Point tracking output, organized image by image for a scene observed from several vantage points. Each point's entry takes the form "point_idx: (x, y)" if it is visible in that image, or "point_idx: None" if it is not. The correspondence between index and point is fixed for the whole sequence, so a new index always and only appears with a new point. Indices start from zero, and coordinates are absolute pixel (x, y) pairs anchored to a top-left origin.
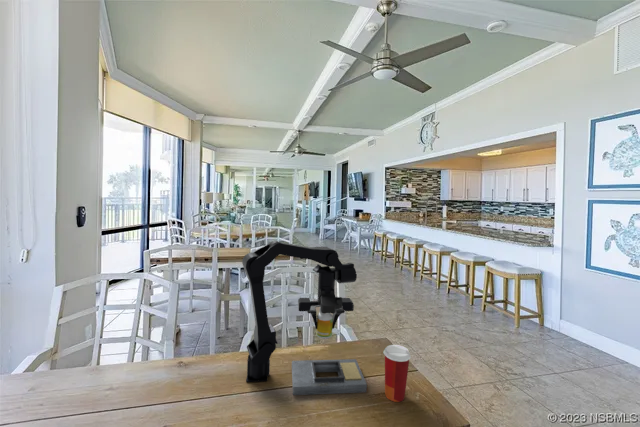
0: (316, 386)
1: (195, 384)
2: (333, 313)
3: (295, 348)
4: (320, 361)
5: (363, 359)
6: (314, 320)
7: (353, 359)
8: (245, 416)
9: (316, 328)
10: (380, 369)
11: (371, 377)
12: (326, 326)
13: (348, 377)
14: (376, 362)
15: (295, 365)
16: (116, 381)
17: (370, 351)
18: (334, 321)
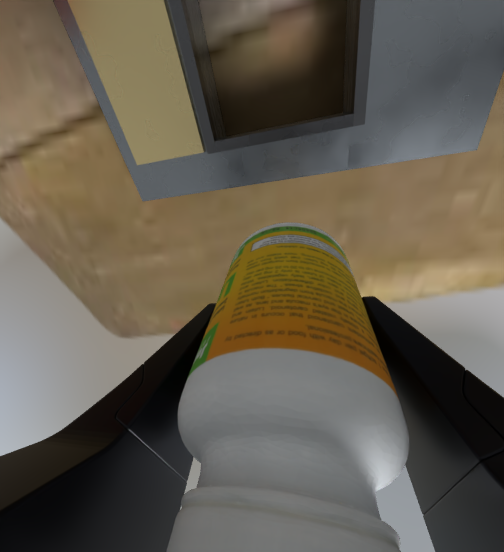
0: None
1: None
2: (176, 461)
3: (391, 294)
4: (306, 161)
5: (140, 239)
6: (455, 372)
7: (152, 196)
8: None
9: (369, 299)
10: (65, 177)
11: (76, 107)
12: (267, 285)
13: None
14: (94, 223)
15: (473, 90)
16: None
17: (130, 284)
18: (172, 353)
